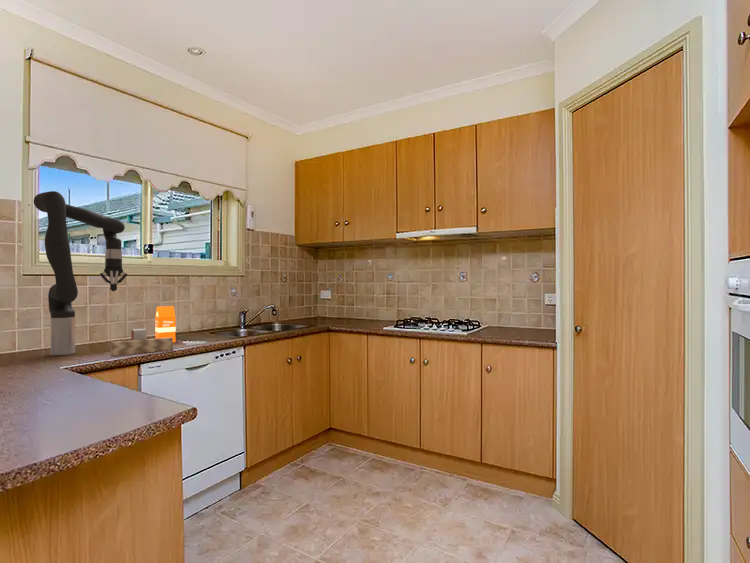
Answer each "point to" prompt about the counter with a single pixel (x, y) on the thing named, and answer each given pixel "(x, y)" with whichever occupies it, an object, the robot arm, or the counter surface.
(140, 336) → the small box
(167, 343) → the board
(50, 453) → the counter surface
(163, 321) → the orange juice
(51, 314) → the robot arm
